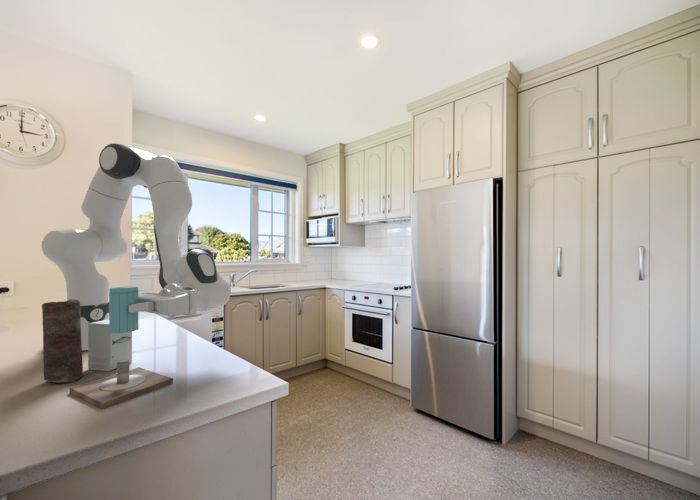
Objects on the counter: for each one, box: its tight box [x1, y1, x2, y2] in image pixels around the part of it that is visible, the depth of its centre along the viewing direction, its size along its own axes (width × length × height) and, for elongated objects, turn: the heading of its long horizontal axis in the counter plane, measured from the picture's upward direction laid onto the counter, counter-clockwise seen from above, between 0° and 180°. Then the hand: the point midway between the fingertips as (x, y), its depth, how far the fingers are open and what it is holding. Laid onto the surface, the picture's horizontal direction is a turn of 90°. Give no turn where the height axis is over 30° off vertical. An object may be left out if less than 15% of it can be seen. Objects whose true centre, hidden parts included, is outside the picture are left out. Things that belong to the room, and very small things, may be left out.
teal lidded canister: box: [109, 285, 140, 333], centre depth 79 cm, size 6×6×10 cm
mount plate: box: [69, 360, 174, 409], centre depth 78 cm, size 15×15×6 cm
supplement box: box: [87, 319, 133, 372], centre depth 93 cm, size 7×7×13 cm
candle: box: [41, 299, 84, 384], centre depth 83 cm, size 8×7×20 cm
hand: (119, 307), depth 78 cm, fingers closed on teal lidded canister, 6 cm apart
